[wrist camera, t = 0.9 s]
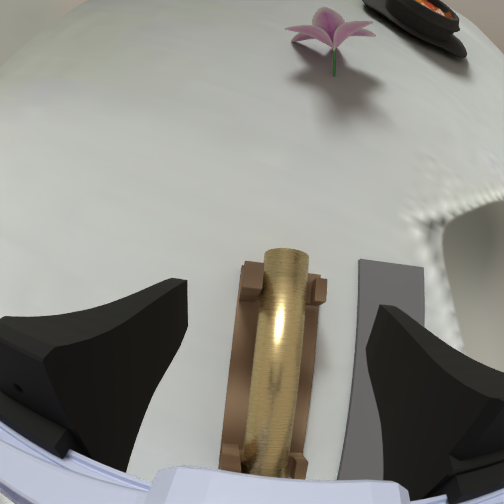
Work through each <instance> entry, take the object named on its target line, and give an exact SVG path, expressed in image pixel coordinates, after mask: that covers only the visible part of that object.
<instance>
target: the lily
mask: <svg viewBox="0 0 504 504" xmlns="http://www.w3.org/2000/svg"><path fill="white" fill-rule="evenodd" d="M372 23H373V22H371V21H353V22H346V23H345V20H344V19H343V17H342V16H341V15H339V14H338V13H337V12H335V11H334V10H332V9H330V8H327V7H322V8H320V9H318V10H317V12H316V13H315V15H314V16H313V19H312V25H301V26H293V27H288V28H285V30H290V31H295V32H299V33H298V34H297V35H296V36H294V38H293V39H292V40H291V42H297V41H302V40H308V39H317V40H319V41H321V42H323V43H325V44H327V45H328V46H330V47H332V49H333V68H334V76H336V59H335V49H336V48H337V47H338V46H339V45H340V44H341V43H342V42H343V41H344V40H345V39H347V38H348V37H350V36H369V37H375V36H376V35H375V34H374V33H372V32H371V31H368V30H366V29H363V27H365V26H367V25H370V24H372Z"/></svg>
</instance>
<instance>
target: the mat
mask: <svg viewBox="0 0 504 504" xmlns="http://www.w3.org/2000/svg"><path fill="white" fill-rule="evenodd" d="M379 304H381V305H392V306H396V307H397V308H399V309H401V310H402V311H403V312H405V313H406V314H408V315H409V316H410V317H411V318H413V319H414V320H415V321H417V322H418V323H419V324H420V325H422V326H423V327H424V316H425V298H424V268H423V267H416V266H409V265H401V264H394V263H387V262H379V261H372V260H364V259H360V260H359V274H358V309H357V328H356V344H355V356H354V368H353V378H352V387H351V396H350V404H349V412H348V419H347V426H346V432H345V439H344V445H343V451H342V456H341V462H340V467H339V472H338V477H337V480H382V481H383V443H382V431H381V423H380V417H379V412H378V408H377V404H376V400H375V396H374V392H373V388H372V385H371V381H370V377H369V373H368V367H367V359H366V349H365V348H366V345H367V342H368V339H369V336H370V333H371V330H372V327H373V324H374V321H375V318H376V314H377V311H378V308H379Z"/></svg>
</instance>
